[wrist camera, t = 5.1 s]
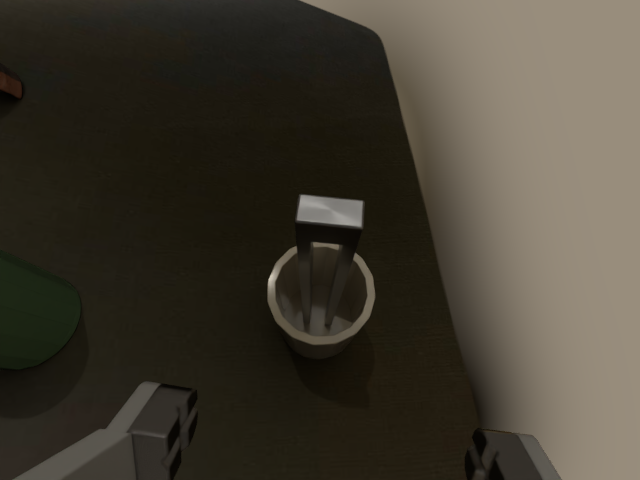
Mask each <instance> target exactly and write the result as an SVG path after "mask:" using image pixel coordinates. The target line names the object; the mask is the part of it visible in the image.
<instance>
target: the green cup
mask: <svg viewBox="0 0 640 480" xmlns="http://www.w3.org/2000/svg"><path fill="white" fill-rule="evenodd" d="M80 314H81V301H80V297H79V295H78V293H77V291H76V289H75V288H74V287H73V286H72V285H71V284H70V283H69V282H67V281H66V280H65V279H63V278H61V277H58V276H56V275H54V274H52V273H50V272H48V271H46V270H43V269H41V268H39V267H37V266H35V265H33V264H30V263H28V262H26V261H24V260H22V259H20V258H18V257H15V256H13V255H11V254H9V253H7V252H5V251H2V250H0V370H22V369H27V368H30V367H33V366H36V365H38V364H40V363H42V362H44V361H46V360H48V359H49V358H51V357H52V356H53V355H55V354H56V353H57V352H58V351H59V350H60V349H62V348H63V346H64V345H65V344H66V343H67V342H68V341H69V339H70V338H71V336H72V335H73V333H74V331H75V329H76V327H77V325H78V322H79V319H80Z"/></svg>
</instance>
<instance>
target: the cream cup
mask: <svg viewBox="0 0 640 480" xmlns="http://www.w3.org/2000/svg"><path fill="white" fill-rule="evenodd" d="M338 248H339V245H337V244H327V243H318V242H314V248H313V282H312V312H311V321H310V323H304V322H303V314H302V302H301V291H300V279H299V267H298V256H297V246H295V247H293V248H291V249H289V250H288V251H287V252H286V253H285V254H284V255H283V256H282V257H281V258H280V259H279V260H278V261H277V262H276V263H275V266H274V268H273V270H272V272H271V275H270V277H269V279H268V292H267V301H268V305H269V307H270V310H271V312H272V314H273V317H274V319H275V321H276V324H277V326H278V328H279V330H280V332H281V334H282V336H283V338H284V340H285V342H286V343H287V344H288V345H289V346H290V347H291V348H292V349H293V350H294V351H295V352H296V353H298V354H300V355H302V356H304V357H307V358H311V359H324V358H329V357H331V356H334V355H336V354H337V353H339V352H341V351H342V350H344V348H345V347H346V346H347V345H348V344H349V342H350V341H351V340H352V339H353V338H354V336H355V335H356V334H357V333H358V331H359V330H360V329H361V328H362V326H363V325H364V324H365V323H366V321H367V320H368V319H369V317H370V315H371V311H372V308H373V304H374V301H375V289H374V281H373V277H372V274H371V272H370V271H369V269H368V267H367V265H366V264H365V262H364V260H363V259H362V258H361V257H360V256H358V255H357V254H356V253H355V255H354V258H353V261H352V264H351V267H350V270H349V273H348V277H347V280H346V283H345V286H344V289H343V292H342V295H341V298H340V301H339V304H338V307H337V310H336V313H335V316H334V319H333V322H332V325H331V326H329V325H325V314H326V308H327V303H328V298H329V293H330V288H331V283H332V278H333V273H334V268H335V263H336V258H337V253H338Z"/></svg>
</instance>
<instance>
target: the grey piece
mask: <svg viewBox="0 0 640 480" xmlns="http://www.w3.org/2000/svg"><path fill="white" fill-rule="evenodd" d="M364 206H365V203H364V201H363V200H356V199H346V198H337V197H327V196H317V195H308V194H299V196H298V202H297V208H296V215H295V231H296V244H297V256H298V267H299V279H300V291H301V302H302V314H303V322H304V323H310V321H311V312H312V282H313V248H314V242H318V243H327V244H337V245H339V248H338V253H337V258H336V263H335V268H334V273H333V278H332V283H331V288H330V293H329V298H328V303H327V308H326V314H325V325H329V326H331V325H332V322H333V319H334V316H335V313H336V310H337V307H338V304H339V301H340V298H341V295H342V292H343V289H344V286H345V283H346V280H347V277H348V273H349V270H350V267H351V264H352V261H353V258H354V255H355V252H356V249H357V246H358V243H359V240H360V236H361V233H362V230H363V225H364Z"/></svg>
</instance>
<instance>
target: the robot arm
mask: <svg viewBox="0 0 640 480" xmlns="http://www.w3.org/2000/svg"><path fill="white" fill-rule="evenodd" d="M196 401H197V390H196V389H192V388H186V387H180V386H174V385H168V384H160V383H154V382H148V381H145V382H143V383H142V384H140V385H139V386H138V388H137V389H136V390H135V391H134V393H133V394H132V395H131V397H130V398H129V399H128V401H127V402H126V403H125V404H124V406H123V407H122V408H121V410H120V411H119V412H118V414H117V415H116V416H115V417H114V419H113V420H112V421H111V423H110V424H109V425H108V427H107V428H106V429H99V430H97V431H95V432H94V433H92V434H90V435H88V436H87V437H85V438H83V439H82V440H80V441H78V442H76V443H75V444H73V445H71V446H69V447H68V448H66V449H64V450H63V451H61V452H59V453H57V454H56V455H54V456H52V457H51V458H49V459H47V460H45V461H44V462H42V463H40V464H38V465H37V466H35V467H33V468H32V469H30V470H28V471H26V472H25V473H23V474H21V475H19V476H18V477H16V478H14V479H13V480H173V479H174V477H175V474H176V472H177V470H178V468H179V466H180V464H181V452H182V451H183V450H185V449H186V448H187V447H189V445H190V442H191V440H192V438H193V435H194V432H195V429H196V425H197V419H198V410H197V409H196V408H195V407H194V405H195V403H196ZM472 439H473V441H474V445H472V446H471V447H469V448H468V449H467V452H466V455H465V472H466V477H467V480H561V478H560V476H559V474H558V473H557V471H556V470H555V468H554V466H553V465H552V463H551V461H550V460H549V458H548V457H547V455H546V453H545V452H544V450H543V449H542V447H541V445H540V444H539V442H538V440H537V439H536V438H535V437H534V436H532V435H527V434H519V433H511V432H505V431H497V430H489V429H482V428H478V429H476V430H475V431H474V434H473V436H472Z"/></svg>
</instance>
